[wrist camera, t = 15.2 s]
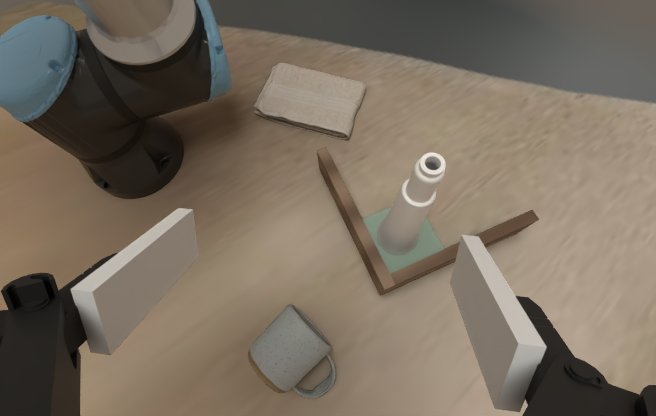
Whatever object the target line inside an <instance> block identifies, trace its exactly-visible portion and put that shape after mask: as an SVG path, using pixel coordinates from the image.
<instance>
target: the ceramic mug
mask: <svg viewBox="0 0 656 416" xmlns="http://www.w3.org/2000/svg"><path fill="white" fill-rule="evenodd" d="M331 349H332V348H331V345H330V344H329V342H328V341H327V340H326V338H325V337H324V336H323V335H322V333H321V332H320V331H319V330H318V329H317V328H316V327H315V326H314V324H313V323H312V322H311V321H310V320H309V319H308V318H307V317H306V316H305V315H304V314H303V313H302V312H301V311H300V310H299V309H298V308H296V307H295V306H294V305H292V304H290V305H288V306H287V307H286V308H285V309H284V310H283V312H282V313H281V314H280V315H279V316H278V317H277V318H276V319H275V320H274V321H273V322H272V323H271V324H270V325H269V327H268V328H267V329H266V330H265V331H264V332H263V333H262V334H261V335H260V336H259V337H258V338H257V339H256V341H255V342H254V343H253V345H252V346H251V348H250V349H249V353H248V357H249V362H250V364H251V366H252V367H253V369H254V371H255V372H256V373H257V375H258V376H259V377H260V378H261V379H262V380H263V382H265V383H266V384H267V385H268V386H269V387H270V388H271V389H273V390H274V391H276V392H278V393H285V392H287V391H289V390H290V389H291V388H292V389H293V390H294V391H295V392H296V393H297V394H299V395H300V396H302V397H305V398H308V399H309V398H317V397H320V396H321V395H323V394H325V393H326V392H327V391H328V390H329V389H330V388H331V386H332V385H333V383H334V381H335V376H336V372H335V365H334V362H333V360H332V358H331V356H330V355H329V352H330V351H331ZM325 356H326V357H327V358H328V360H329V362H330V365H331V373H330V375H329V377H328V378H327V379H326V380H325V381H324V382H323V383H322V384H321V385H319V386H317V387H315V389H314V390H311V391H309V390H304V389H302V388H300V387H299V386H297V385H296V384H298V383H299V382H300V380H301V379H302V378H303V377H304V376H305V375H306V374H307V373H308V372H309V371H310V370H311V369H312V368H313V367H314V366H316V365H317V364H318V363H319V362H320V361H321V360H322V359H323V358H324V357H325Z"/></svg>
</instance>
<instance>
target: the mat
mask: <svg viewBox="0 0 656 416" xmlns="http://www.w3.org/2000/svg"><path fill="white" fill-rule="evenodd" d="M391 207H392V206H391ZM391 207H389V208H387V209H384V210H382V211H380V212H377V213H375V214H373V215H370V216H368V217H366V218H363V221H364V223H365V225H366V227H367V229H368V231H369V233H370V235H371V237H372V239H373V241H374V243H375V245H376V247H377V249H378V251H379V253H380V255H381V257H382V259H383V261H384V263H385V265H386V267H387V269H388V271H389V273H390V274H391V273H393V272H395V271H397V270H399V269H402V268H404V267H406V266H408V265H411V264H413V263H415V262H417V261H419V260H422V259H424V258H426V257H428V256H431V255H433V254H435V253H437V252H439V251H442V250H444V249H445V248H444V246H443V245H442V243H441V241H440V240H439V238H438V236H437V234H436V233H435V231H434V229H433V228H432V226H431V224H430V222H429V221H428V219H427V217H426V218H425V220H424V222H423V224H422V226H421V229H420V231H419V234H418V241H417V244H416V246H415V247H414V248H413V249H412V250H411V251H410V252H408V253H406V254H403V255H394V254H391V253H388V252H387V251H385V250H384V249H383V248H382V247H381V246H380V244H379V242H378V239H377V229H378V227H379V225H380V223H381V222H382V221H383V220H384V219H385V218H386V217H387V215H388V213H389V211H390V209H391Z"/></svg>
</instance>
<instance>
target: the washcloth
mask: <svg viewBox="0 0 656 416" xmlns="http://www.w3.org/2000/svg"><path fill="white" fill-rule="evenodd" d="M271 70H272V71H271V75H270V77H269V79H268V81H267V82H266V84H265V86H264V88H263V90H262V92H261V93H260V95H259V97H258V99H257V101H256V103H255V104H254V108H256V109H255V113H256V114H258V115H261V116H263V117H264V118H266V119H269V120H272V121H274V122H277V123H281V124H284V125H288V126H292V127H296V128H299V129H303V130H307V131H310V132H314V133H319V134H322V135H326V136H329V137H333V138H337V139H341V140H346V139H348V138H349V136H350V135H351V131H352V128H353V122H354V117H355V115H356V113H357V110H358V109H359V107H360V105H361V102H362V99H363V96H364V93H365V90H366V86H365V85H364V84H363V83H362V82H357V81H355V80H349V79H347V78H342V77H338V76H334V75H331V74H327V73H324V72H318V71H315V70H310V69H305V68H302V67H297V66H294V65H292V64H286V63H278V65H276V66H274V67H273V68H272V69H271Z"/></svg>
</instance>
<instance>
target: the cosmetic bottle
mask: <svg viewBox="0 0 656 416" xmlns="http://www.w3.org/2000/svg"><path fill="white" fill-rule="evenodd" d="M445 165H446V164H445V160H444V158H443V157H442V156H441V155H439V154H437V153H427V154H425V155H423V156H422V158H421V159H419V160H418V161H417V162H416V164H415V166H414V169H413V171H412V174H411V176H410V178H409V179H407V180H406V181H405V182H404V184H403V185H402V187H401V189H400V191H399V193H398V195H397V197H396V199H395V201H394V203H393V205H392V207H391V209H390V211H389V213H388V215H387V217H386V218H385V219H384V220H383V221H382V222H381V223H380V225H379V227H378V229H377V239H378V242H379V244H380V246H381V247H382V248H383V249H384V250H385V251H387V252H388V253H391V254H394V255H403V254H406V253H408V252H410V251H411V250H412V249H413V248H414V247H415V246H416V244H417V241H418V234H419V231H420V229H421V226H422V224H423V222H424V220H425V218H426V216H427V215H428V213H429V211H430V209H431V206H432V204H433V202H434V200H435V198H436V188H437V187H438V185H439V184H440V182H441V180H442V179H443V177H444V174H445Z"/></svg>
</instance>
